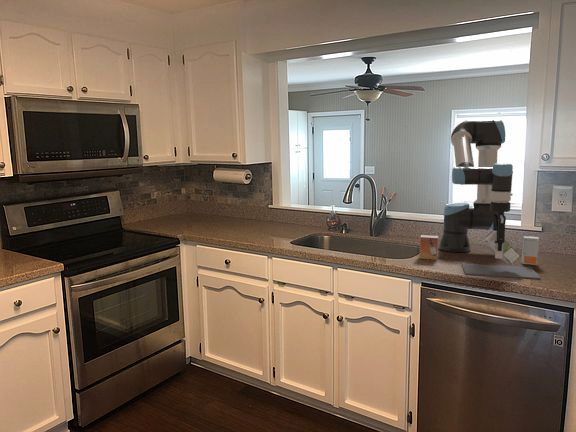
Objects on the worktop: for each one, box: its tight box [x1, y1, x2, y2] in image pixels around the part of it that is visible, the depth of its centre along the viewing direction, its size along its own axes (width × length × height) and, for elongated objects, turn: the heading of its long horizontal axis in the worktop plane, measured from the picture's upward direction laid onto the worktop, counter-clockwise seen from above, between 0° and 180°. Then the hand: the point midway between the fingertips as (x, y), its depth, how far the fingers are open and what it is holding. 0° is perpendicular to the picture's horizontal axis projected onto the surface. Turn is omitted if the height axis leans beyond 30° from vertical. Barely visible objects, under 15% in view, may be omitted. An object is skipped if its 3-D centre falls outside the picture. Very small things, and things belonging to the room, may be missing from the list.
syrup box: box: [481, 230, 522, 266], centre depth 194 cm, size 6×6×14 cm
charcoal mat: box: [461, 263, 542, 280], centre depth 196 cm, size 16×28×1 cm, turn 74°
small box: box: [418, 234, 439, 261], centre depth 219 cm, size 8×6×10 cm
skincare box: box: [520, 235, 540, 266], centre depth 207 cm, size 6×4×12 cm
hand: (497, 256), depth 195 cm, fingers closed on syrup box, 7 cm apart
